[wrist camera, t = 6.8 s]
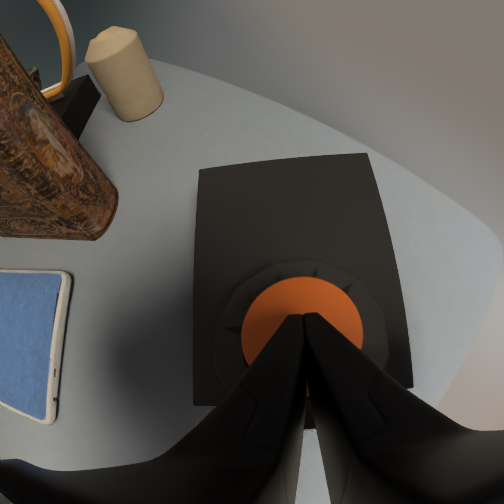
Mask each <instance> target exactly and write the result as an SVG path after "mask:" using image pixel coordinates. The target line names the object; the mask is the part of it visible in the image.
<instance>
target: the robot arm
mask: <svg viewBox="0 0 504 504" xmlns="http://www.w3.org/2000/svg"><path fill="white" fill-rule="evenodd" d="M307 384H308V392H309V397H310V402H311V406H312V411H313V416H314V421H315V425H316V430H317V435H318V440H319V445H320V450H321V455H322V460H323V465H324V470H325V475H326V480H327V486H328V491H329V496H330V501H331V504H504V430H498V431H477V430H472V429H469V428H466V427H464V426H461V425H460V424H458V423H456V422H454V421H453V420H451V419H450V418H448V417H447V416H445V415H444V414H442V413H440V412H439V411H438V410H436V409H435V408H433V407H432V406H430V405H428V404H427V403H425V402H424V401H422V400H421V399H419V398H418V397H417V396H415V395H414V394H412V393H411V392H410V391H408V390H407V389H405V388H404V387H403V386H402V385H400V384H399V383H398V382H397V381H396V380H394V379H393V378H392V377H391V376H390V375H388V374H387V373H386V372H385V371H384V370H382V369H381V368H380V367H379V366H378V365H377V364H376V363H375V362H374V361H372V360H371V359H370V358H369V357H368V356H367V355H366V354H365V353H363V352H362V351H361V350H360V349H359V348H358V347H357V346H355V345H354V344H353V343H352V342H351V341H350V340H349V339H348V338H346V337H345V336H344V335H343V334H342V333H341V332H340V331H338V330H337V329H336V328H335V327H334V326H333V325H332V324H331V323H329V322H328V321H327V320H326V319H325V318H324V317H323V316H322V315H320V314H319V313H318V312H310V313H304V314H303V315H302V314H300V313H299V314H289V315H287V316H286V318H285V319H284V320H283V322H282V323H281V325H280V326H279V327H278V329H277V330H276V331H275V333H274V334H273V335H272V337H271V338H270V339H269V341H268V342H267V344H266V345H265V346H264V348H263V349H262V350H261V352H260V353H259V354H258V356H257V357H256V358H255V359H254V361H253V362H252V363H251V365H250V366H249V367H248V369H247V370H246V371H245V372H244V374H243V375H242V376H241V378H240V379H239V380H238V381H237V383H236V384H235V385H234V386H233V388H232V389H231V390H230V391H229V393H228V394H227V395H226V396H225V397H224V398H223V400H222V401H221V402H220V403H219V404H218V405H217V406H216V407H215V408H214V409H213V410H212V411H211V412H210V413H209V414H208V415H207V416H206V417H205V418H204V419H203V420H202V421H201V422H200V423H199V424H198V425H196V426H195V427H194V428H193V429H192V430H191V431H190V432H189V433H188V434H186V435H185V436H184V437H183V438H182V439H181V440H180V441H178V442H177V443H176V444H175V445H174V446H173V447H172V448H170V449H169V450H168V451H166V452H165V453H164V454H162V455H160V456H159V457H157V458H155V459H153V460H150V461H146V462H142V463H136V464H130V465H123V466H116V467H109V468H101V469H91V470H80V471H53V470H48V469H43V468H40V467H37V466H34V465H32V464H30V463H28V462H25V461H23V460H20V459H7V460H0V493H1V494H3V495H4V496H5V497H6V498H7V499H8V500H10V501H11V502H12V503H13V504H295V497H296V490H297V482H298V475H299V467H300V458H301V450H302V441H303V431H304V422H305V411H306V400H307Z"/></svg>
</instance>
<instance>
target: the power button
mask: <svg viewBox="0 0 504 504" xmlns="http://www.w3.org/2000/svg"><path fill="white" fill-rule="evenodd" d="M310 312H318V313H319V314H320V315H322V316H323V317H324V318H325V319H326V320H327V321H328V322H329V323H331V324H332V325H333V326H334V327H335V328H336V329H337V330H338V331H340V332H341V333H342V334H343V335H344V336H345V337H346V338H348V339H349V340H350V341H351V342H352V343H353V344H354V345H355V346H357V347H358V348H359V349H360V350H361V349H362V344H363V327H362V321H361V318H360V315H359V312H358V310H357V308H356V306H355V305H354V303H353V302H352V300H351V299H350V298H349V297H348V295H347V294H346V293H344V292H343V291H342V290H341V289H340V288H338V287H337V286H335V285H334V284H332V283H330V282H328V281H325V280H322V279H318V278H314V277H293V278H288V279H285V280H282V281H279V282H277V283H275V284H273V285H271V286H270V287H268V288H267V289H265V290H264V291H263V292H262V293H261V294H260V295H259V296H258V297H257V298H256V299H255V300H254V301H253V303H252V304H251V306H250V307H249V309H248V311H247V313H246V316H245V318H244V322H243V326H242V332H241V342H242V349H243V353H244V356H245V359H246V362H247V363H248V365H249V366H250V365H251V363H252V362H253V361H254V359H255V358H256V357H257V356H258V354H259V353H260V352H261V350H262V349H263V348H264V346H265V345H266V344H267V342H268V341H269V339H270V338H271V337H272V335H273V334H274V333H275V331H276V330H277V329H278V327H279V326H280V325H281V323H282V322H283V320H284V319H285V318H286V316H287V315H289V314H299V313H300V314H302V315H303V314H304V313H310ZM307 395H309V392H308V384H307Z"/></svg>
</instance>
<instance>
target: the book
mask: <svg viewBox="0 0 504 504" xmlns="http://www.w3.org/2000/svg"><path fill="white" fill-rule="evenodd" d="M117 205H118V191H117V189H116V187H115V186H114V185H113V184H112V182H111V181H110V180H109V179H108V178H107V176H106V175H105V174H104V173H103V171H102V170H101V169H100V168H99V167H98V165H97V164H96V163H95V162H94V160H93V159H92V158H91V157H90V155H89V154H88V153H87V152H86V150H85V149H84V148H83V147H82V145H81V144H80V143H79V141H78V140H77V139H76V138H75V136H74V135H73V134H72V132H71V131H70V130H69V129H68V127H67V126H66V125H65V123H64V122H63V121H62V119H61V118H60V117H59V115H58V114H57V113H56V111H55V110H54V109H53V107H52V106H51V105H50V103H49V102H48V101H47V99H46V98H45V97H44V95H43V94H42V92H41V91H40V90H39V88H38V87H37V85H36V84H35V83H34V81H33V80H32V78H31V77H30V76H29V74H28V73H27V71H26V70H25V69H24V67H23V66H22V64H21V63H20V61H19V60H18V59H17V57H16V55H15V54H14V53H13V51H12V49H11V48H10V46H9V45H8V43H7V42H6V40H5V39H4V37H3V36H2V34H1V33H0V236H3V237H16V238H42V239H68V240H93V241H95V240H97V239H98V238H99V237H101V236H102V235H103V233H104V232H105V231H106V230H107V228H108V227H109V225H110V223H111V222H112V219H113V217H114V215H115V212H116V209H117Z"/></svg>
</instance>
